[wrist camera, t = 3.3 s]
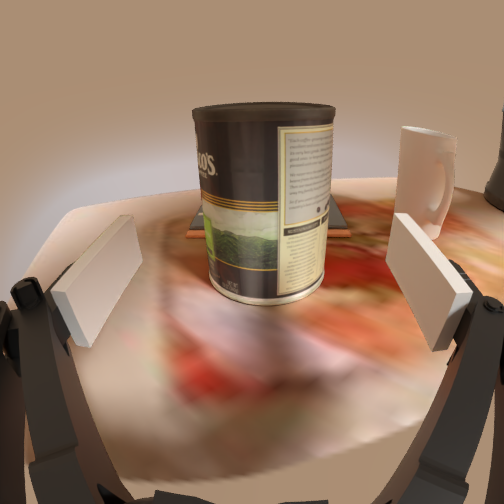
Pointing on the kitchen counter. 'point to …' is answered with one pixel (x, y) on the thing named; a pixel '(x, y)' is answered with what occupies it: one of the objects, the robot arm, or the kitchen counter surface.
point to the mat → (333, 220)
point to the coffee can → (265, 197)
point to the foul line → (329, 233)
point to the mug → (425, 177)
